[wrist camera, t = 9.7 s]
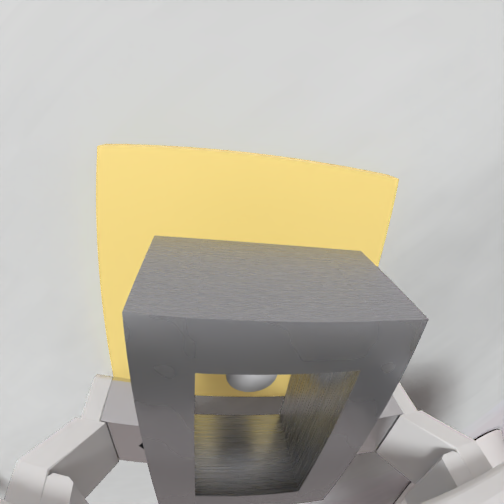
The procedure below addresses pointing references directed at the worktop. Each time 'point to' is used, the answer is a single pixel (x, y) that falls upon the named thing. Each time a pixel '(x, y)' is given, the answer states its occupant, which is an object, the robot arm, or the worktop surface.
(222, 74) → the worktop surface
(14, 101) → the worktop surface
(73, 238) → the worktop surface
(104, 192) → the keeper
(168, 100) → the worktop surface
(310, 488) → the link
